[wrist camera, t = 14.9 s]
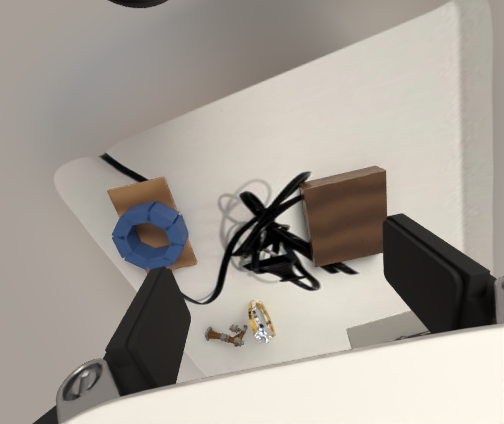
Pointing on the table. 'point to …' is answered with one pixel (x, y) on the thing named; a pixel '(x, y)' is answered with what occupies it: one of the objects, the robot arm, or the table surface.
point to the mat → (148, 231)
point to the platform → (345, 215)
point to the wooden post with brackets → (227, 338)
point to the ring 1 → (141, 251)
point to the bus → (387, 330)
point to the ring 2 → (262, 330)
